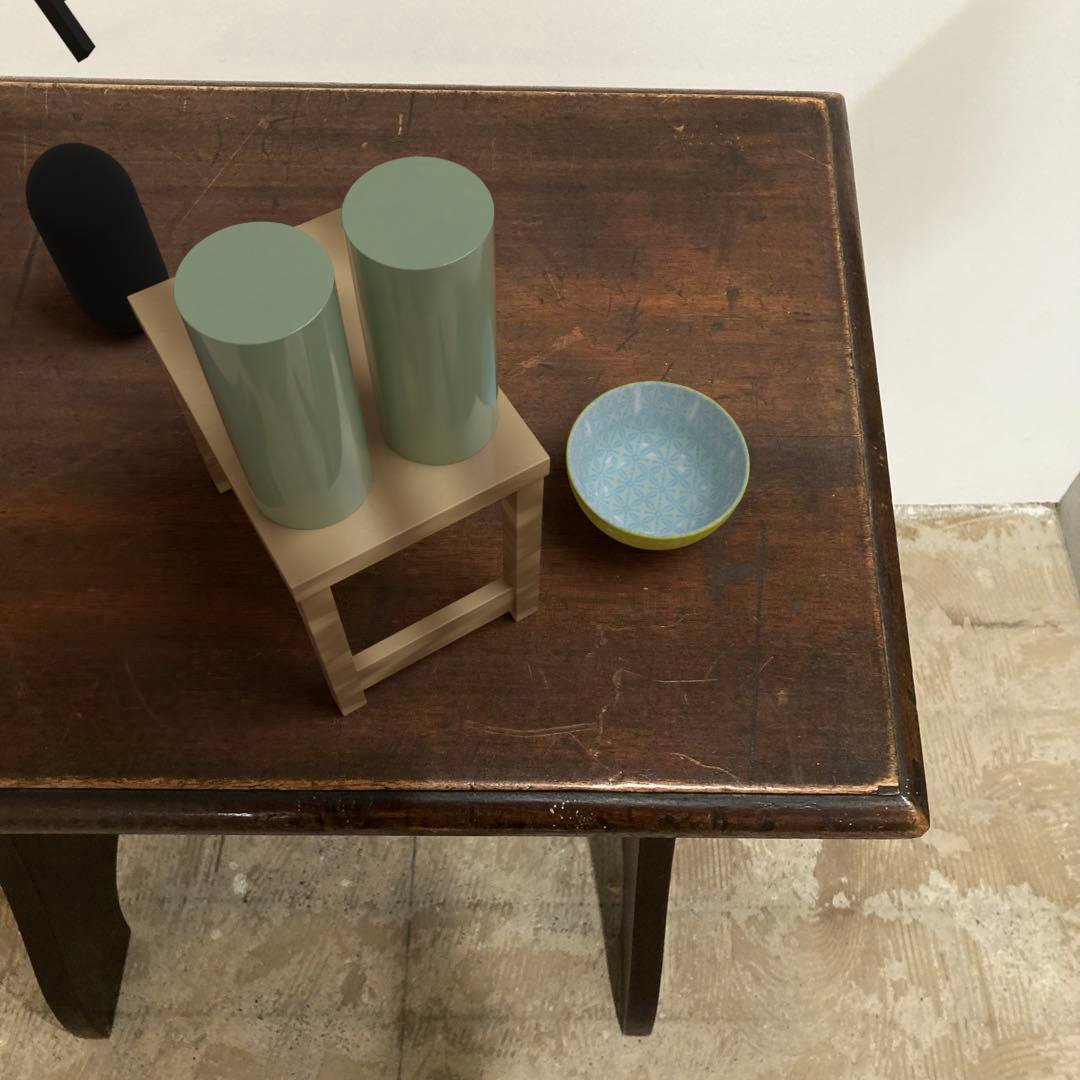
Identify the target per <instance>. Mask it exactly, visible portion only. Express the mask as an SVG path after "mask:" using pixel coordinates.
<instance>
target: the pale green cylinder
mask: <svg viewBox="0 0 1080 1080" xmlns="http://www.w3.org/2000/svg"><path fill="white" fill-rule="evenodd" d="M341 205H342V206H341V207H342V211H341V221H342V226H343V231H344V237H345V242H346V248H347V253H348V259H349V264H350V269H351V275H352V280H353V286H354V291H355V297H356V302H357V308H358V313H359V318H360V324H361V329H362V335H363V340H364V346H365V351H366V357H367V362H368V367H369V373H370V378H371V384H372V389H373V395H374V400H375V405H376V411H377V416H378V422H379V427H380V430H381V433H382V435H383V437H384V439H385V440H386V442H387V443H388V444H389V446H390V447H391V448H392V449H393V450H394V451H396V452H397V453H398V454H400V455H401V456H403V457H405V458H407V459H409V460H411V461H414V462H417V463H421V464H426V465H448V464H453V463H457V462H460V461H463V460H465V459H467V458H469V457H471V456H473V455H475V454H476V453H477V452H479V451H480V450H481V449H482V448H483V447H484V446H485V445H486V444H487V443H488V442H489V441H490V439H491V438H492V436H493V434H494V432H495V430H496V427H497V423H498V416H499V407H498V386H499V368H498V367H499V364H498V363H499V361H498V359H499V358H498V322H497V321H498V320H497V319H498V318H497V317H498V315H497V313H498V312H497V277H496V276H497V272H496V271H497V269H496V268H497V267H496V265H497V264H496V225H495V217H496V216H495V204H494V201H493V197H492V194H491V192H490V191H489V189H488V187H487V186H486V184H485V183H484V182H483V180H481V178H480V177H478V175H476V174H475V173H474V172H473V171H471V170H469V168H467V167H465V166H463V165H461V164H459V163H457V162H454V161H451V160H448V159H445V158H439V157H434V156H421V155H420V156H408V157H400V158H396V159H391V160H389V161H385V162H383V163H381V164H379V165H376V166H375V167H372V168H371V169H370V170H368V171H366V172H365V173H363V174H362V175H360V176H359V178H358V179H357V180H356V181H355V182H353V184H351V186H350V188H349V189H348V191H347V193H346V194H345V197H344V199H343V202H342V204H341Z"/></svg>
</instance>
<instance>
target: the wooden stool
mask: <svg viewBox="0 0 1080 1080" xmlns="http://www.w3.org/2000/svg"><path fill="white" fill-rule="evenodd" d="M341 211H342V206H341V207H339V208H337V209H334V210H332V211H329V212H326V213H325V214H322V215H320V216H318V217H315V218H313V219H310V220H308V221H306V222H303V223H301V224H299V225H295V226H294V227H295V228H297V229H300V230H302V231H303V232H305V233H307V234H309V235H310V236H312V237H313V238H314V239H315V240H317V241H318V242H319V243H320V244H321V245H322V247H323V248H324V249H325V250H326V252H327V254H328V255H329V257H330V259H331V262H332V265H333V269H334V274H335V279H336V284H337V289H338V294H339V299H340V304H341V309H342V314H343V318H344V323H345V328H346V333H347V338H348V343H349V348H350V353H351V358H352V363H353V368H354V373H355V378H356V383H357V387H358V392H359V397H360V402H361V407H362V412H363V417H364V422H365V427H366V432H367V437H368V442H369V447H370V452H371V456H372V461H373V467H374V477H373V483H372V487H371V489H370V492H369V494H368V496H367V497H366V499H365V501H364V502H363V503H362V505H361V506H360V507H359V508H358V509H357V510H356V511H355V512H354V513H353V514H351V515H350V516H348V517H347V518H345V519H344V520H342V521H340V522H338V523H336V524H333V525H331V526H327V527H324V528H319V529H310V530H303V529H294V528H289V527H286V526H283V525H280V524H278V523H276V522H274V521H272V520H271V519H269V518H268V517H267V516H265V515H264V514H263V513H262V512H261V511H260V510H259V509H258V507H257V506H256V504H255V503H254V501H253V498H252V496H251V494H250V491H249V489H248V486H247V484H246V481H245V479H244V476H243V474H242V471H241V468H240V466H239V463H238V461H237V458H236V456H235V453H234V451H233V448H232V446H231V443H230V441H229V438H228V436H227V433H226V431H225V428H224V426H223V423H222V420H221V418H220V415H219V413H218V410H217V408H216V405H215V403H214V400H213V398H212V395H211V393H210V390H209V388H208V385H207V383H206V380H205V377H204V375H203V372H202V370H201V367H200V365H199V362H198V360H197V357H196V355H195V352H194V350H193V347H192V345H191V342H190V340H189V337H188V335H187V332H186V329H185V327H184V324H183V322H182V319H181V317H180V314H179V312H178V309H177V307H176V304H175V300H174V293H173V287H174V280H175V276H173V277H170V278H169V279H168V280H166V281H163V282H161V283H158V284H156V285H154V286H151V287H149V288H146V289H144V290H142V291H139V292H137V293H134V294H132V295H130V296H128V297H127V299H128V301H129V303H130V306H131V308H132V310H133V312H134V315H135V317H136V318H137V320H138V322H139V324H140V326H141V327H142V331H143V333H144V334H145V336H146V338H147V340H148V341H149V343H150V345H151V347H152V349H153V350H154V353H155V354H156V357H157V359H158V361H159V363H160V365H161V368H162V370H163V372H164V374H165V377H166V379H167V381H168V384H169V386H170V388H171V390H172V392H173V395H174V397H175V399H176V401H177V404H178V406H179V408H180V411H181V413H182V415H183V417H184V420H185V421H186V424H187V426H188V428H189V431H190V432H191V435H192V437H193V440H194V442H195V445H196V447H197V449H198V451H199V453H200V455H201V458H202V460H203V462H204V465H205V467H206V469H207V471H208V473H209V476H210V478H211V480H212V482H213V483H214V485H215V487H216V489H217V490H218V492H219V493H220V494H223V493H225V492H227V491H229V490H232V492H233V493H234V495H235V497H236V499H237V501H238V502H239V504H240V506H241V507H242V509H243V511H244V513H245V515H246V517H247V518H248V520H249V522H250V523H251V525H252V527H253V529H254V530H255V533H256V534H257V536H258V538H259V539H260V541H261V543H262V545H263V547H264V549H265V551H266V552H267V554H268V555H269V558H270V559H271V561H272V562H273V566H275V568H276V570H277V571H278V574H279V575H280V577H281V579H282V581H283V582H284V584H285V586H286V588H287V589H288V591H289V593H290V595H291V597H292V598H293V600H294V602H295V604H296V607H297V609H298V612H299V615H300V617H301V621H302V622H303V625H304V627H305V630H306V633H307V635H308V637H309V640H310V643H311V645H312V648H313V651H314V653H315V655H316V658H317V660H318V663H319V665H320V668H321V671H322V673H323V676H324V679H325V681H326V684H327V686H328V689H329V691H330V694H331V697H332V698H333V700H334V702H335V704H336V706H337V707H338V709H339V711H340V712H341V714H342V716H343V717H345V716H348V715H349V714H352V713H353V712H355V711H357V710H358V709H361V708H362V707H364V706H366V705H368V701H367V698H366V695H365V692H364V690H366V689H368V688H370V687H371V686H374V685H375V684H377V683H379V682H381V681H382V680H385V679H387V678H388V677H390V676H392V675H394V674H396V673H398V672H400V671H401V670H404V669H405V668H407V667H409V666H410V665H412V664H414V663H416V662H417V661H419V660H421V659H423V658H425V657H427V656H430V655H431V654H433V653H434V652H436V651H438V650H440V649H442V648H444V647H445V646H447V645H449V644H451V643H453V642H455V641H457V640H458V639H461V638H462V637H464V636H466V635H467V634H469V633H471V632H473V631H475V630H477V629H479V628H481V627H483V626H484V625H486V624H487V623H490V622H492V621H493V620H495V619H498V618H499V617H501V616H503V615H504V614H507V613H508V612H509V613H510V615H511V617H512V619H513V620H514V622H516V623H518V622H520V621H522V620H524V619H525V618H527V617H529V616H531V615H533V614H535V613H537V612H538V611H539V598H540V597H539V595H540V572H541V570H540V569H541V551H542V548H541V547H542V526H543V505H544V503H543V501H544V478H545V477H547V476H548V475H549V474H550V464H551V463H550V462H551V457H550V455H549V454H548V453H547V451H546V450H545V448H544V447H543V446H542V444H541V443H540V442H539V440H538V439H537V437H536V436H535V434H534V433H533V431H531V429H530V428H529V426H528V425H527V424H526V422H525V421H524V419H523V417H521V415H520V414H519V412H518V411H517V409H516V408H515V407H514V404H512V402H511V401H510V400H509V398H508V396H506V394H505V393H504V391H503V390H502V389H501V387H500V386H499V385H498V407H499V416H498V423H497V427H496V430H495V432H494V434H493V436H492V438H491V439H490V441H489V442H488V443H487V444H486V445H485V446H484V447H483V448H482V449H481V450H480V451H479V452H477V453H476V454H475V455H473V456H471V457H469V458H467V459H465V460H463V461H460V462H457V463H453V464H448V465H426V464H421V463H417V462H414V461H411V460H409V459H407V458H405V457H403V456H401V455H400V454H398V453H397V452H396V451H394V450H393V449H392V448H391V447H390V446H389V444H388V443H387V442H386V440H385V439H384V437H383V435H382V433H381V430H380V427H379V422H378V416H377V411H376V405H375V400H374V395H373V389H372V384H371V378H370V373H369V367H368V362H367V357H366V351H365V346H364V340H363V335H362V329H361V324H360V318H359V313H358V308H357V302H356V297H355V291H354V286H353V280H352V275H351V269H350V264H349V259H348V253H347V248H346V242H345V237H344V231H343V226H342V221H341ZM499 500H501V520H502V521H501V522H502V525H501V526H502V527H501V528H502V530H501V531H502V575H503V576H501V577H499V578H497V579H495V580H493V581H492V582H490V583H487V584H486V585H484V586H482V587H479V588H478V589H476V590H475V591H472V592H471V593H469V594H467V595H465V596H464V597H461V598H459V599H458V600H456V601H454V602H452V603H449V604H448V605H446V606H444V607H443V608H441V609H439V610H437V611H435V612H433V613H431V614H430V615H427V616H425V617H424V618H422V619H419V620H418V621H416V622H414V623H413V624H411V625H409V626H407V627H405V628H403V629H401V630H399V631H397V632H396V633H394V634H392V635H390V636H388V637H386V638H384V639H382V640H381V641H378V642H377V643H375V644H373V645H371V646H369V647H367V648H365V649H363V650H361V651H359V652H358V653H356V654H354V655H353V654H352V651H351V647H350V645H349V641H348V638H347V636H346V632H345V629H344V626H343V622H342V620H341V618H340V614H339V610H338V608H337V604H336V601H335V598H334V594H333V592H332V589H331V586H333V585H335V584H338V583H339V582H341V581H344V580H345V579H347V578H349V577H351V576H352V575H355V574H356V573H359V572H360V571H363V570H365V569H367V568H369V567H370V566H372V565H375V564H376V563H378V562H380V561H382V560H384V559H387V558H388V557H390V556H392V555H394V554H395V553H398V552H400V551H402V550H404V549H405V548H408V547H410V546H411V545H413V544H415V543H417V542H420V541H421V540H423V539H425V538H428V537H430V536H432V535H433V534H436V533H437V532H439V531H441V530H444V529H445V528H447V527H449V526H450V525H453V524H455V523H456V522H458V521H460V520H462V519H465V518H467V517H468V516H470V515H472V514H474V513H476V512H478V511H480V510H482V509H485V508H486V507H488V506H490V505H491V504H494V503H496V502H497V501H498V502H499Z"/></svg>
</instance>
